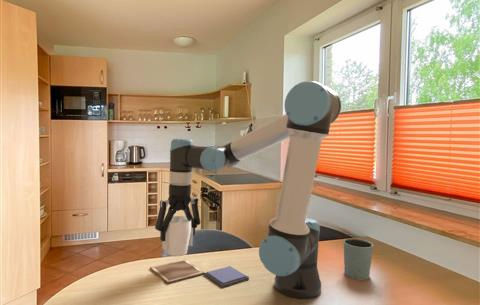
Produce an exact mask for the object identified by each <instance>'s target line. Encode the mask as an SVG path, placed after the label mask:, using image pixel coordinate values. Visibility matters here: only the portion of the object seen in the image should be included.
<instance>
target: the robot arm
mask: <svg viewBox="0 0 480 305" xmlns="http://www.w3.org/2000/svg"><path fill="white" fill-rule="evenodd" d="M284 111H285V114H283V115H281V116H280V117H278V118H275V119H274V120H272V121H270V122H267V123H266V124H263V125H261V126H260V127H257V128H256V129H254V130H252V131H250V132H248V133H246V134H244V135H242V136H240V137H238V138H236V139H234V140H232V141H231V142H229V143H226V144H224V145H220V146H218V145H217V146H215V145H214V146H200V145H199V146H197V145H194V141H193V140H192V139H188V138H173V139H172V140H171V141H170V150H169V180H168V182H169V183H170V184H169V185H168V198H167V200H160V201H159V210H158V213H157V214H158V215H157V218H156V222H155V226H154V229H155V230H157V231H158V232H160V235H159V236H160V237H159V240H160V241H162V242H161V244H162V246H161V249H162V250H163V251H165V252H168V231H166V230H167V228H168V226H169V222H171V220H172V218H173V216H174V215H175V214H177V212H179V211H183V212H184V215H185V217H187V220H188V221H191V233H190V239H189V244H188V246H189V247H193V245H194V244H193V243H194V241H193V239H194V236H195V235H196V228H197V227H198V226H200V225H201V218H200V214H199V213H200V212H199V206H198V203H199V198H197V197H195V196H193V197H192V196H191V193H192V185H191V183H192V173H193V170H192V169H199V170H206V171H215V172H216V171H220V170H221V168H230V167H233V166H236V165H238V164H239V163H240V162H241V161H243V160H245V159H247V158H249V157H251V156H254V155H256V154H259V153H260V152H262V151H265V150H266V149H269V148H270V147H273V146H275V145H278V144H279V143H281V142H284V141H285V140H288V139H289V142H288V147H287V153H286V157H285V164H284V170H283V176H282V181H281V186H280V192H279V196H278V201H277V202H278V203H277V208H276V214H275V217H274V218H272V219H270V220H269V223H268V229H267V234H266V237H265V238H263V239H262V241H261V242H260V245H259V247H258V256H259V260H260V261H261V263H262V264H263V266H264V268H265V269H266V270H267V271H268V272H270V273H271V274H273V275H275V277H274V288H275V289H276V291H278V292H279V293H281V294H282V295H285V296H286V297H287V296H288V297H290V298H297V299H312V298H315V297H318V296H319V295H320V294H321V292H322V281H321V278H320V274H319V269H318V258H319V256H318V255H319V242H320V233H321V230H320V223H319V222H318V220H315V219H313V218H308V212H309V207H310V202H311V196H312V191H313V188H314V186H313V185H314V182H315V181H314V180H315V175H316V172H317V167H318V160H319V154H320V150H321V144H322V141H323V140H324V139H325V138H327V137H328V136H329V135H330V134H329V132H330V129H331V128H330V127H331V124H333V123H334V122H335V121H336V120H337V119H338V117H339V116H340V114H341V111H342V101H341V98H340V96H339V95H338V93H337V92H336V91H334V89H332V88H330V87H328V86H326V85H325V84H323V83H321V82H318V81H313V80H305V81H301V82H299V83H297V84H295V85H293V87H292V88H290V90H289V91H288V93H287V94H286V96H285V99H284ZM168 205H169V207H168ZM189 205H190V206H191V209H190V206H189ZM167 207H168V209H167ZM166 212H167V213H166Z"/></svg>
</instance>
